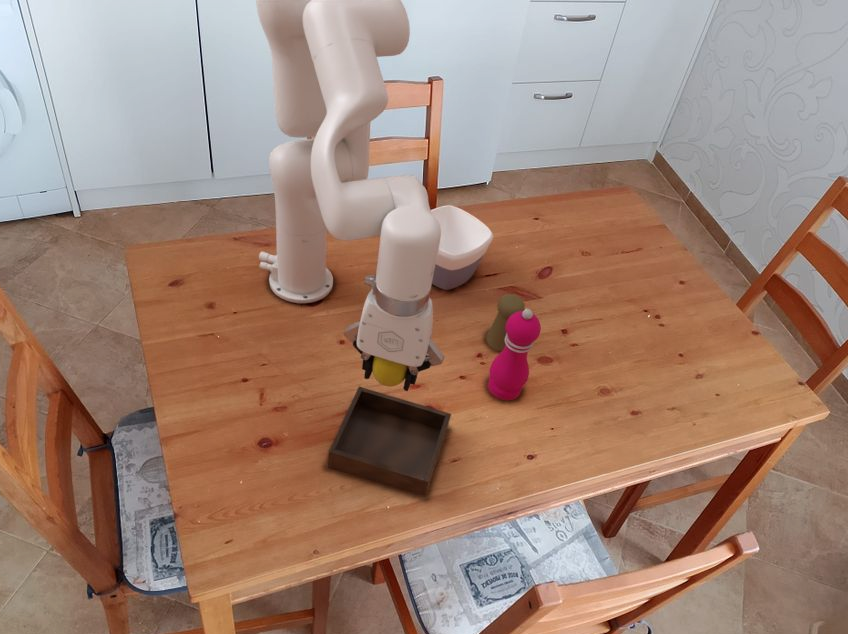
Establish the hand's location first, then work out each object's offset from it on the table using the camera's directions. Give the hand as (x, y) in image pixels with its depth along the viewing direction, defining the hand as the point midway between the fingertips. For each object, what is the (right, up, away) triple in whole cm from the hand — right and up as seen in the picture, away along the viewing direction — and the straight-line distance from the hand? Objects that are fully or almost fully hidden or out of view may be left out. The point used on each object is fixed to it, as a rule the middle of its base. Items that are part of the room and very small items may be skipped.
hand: (388, 377), depth 112 cm
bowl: (+8, +21, +45) cm, 51 cm away
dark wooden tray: (-1, -12, +11) cm, 17 cm away
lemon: (0, -1, +1) cm, 1 cm away
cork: (+20, +6, +33) cm, 39 cm away
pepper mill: (+19, -3, +25) cm, 32 cm away
